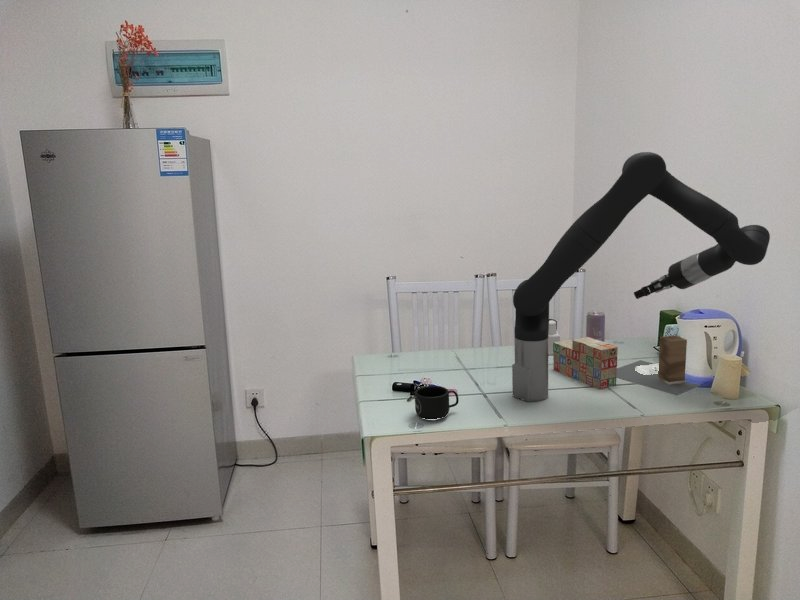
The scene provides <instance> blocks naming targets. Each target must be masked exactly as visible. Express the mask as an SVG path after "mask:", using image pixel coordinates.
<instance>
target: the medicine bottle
mask: <svg viewBox="0 0 800 600" xmlns="http://www.w3.org/2000/svg"><path fill="white" fill-rule="evenodd" d="M559 341H561V335H560V334H559V332H558V320H556V319H553V318H549V331H548V356H554V355H553V354H554V352H553V343H554V342H559Z"/></svg>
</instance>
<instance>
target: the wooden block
mask: <svg viewBox="0 0 800 600" xmlns="http://www.w3.org/2000/svg"><path fill="white" fill-rule="evenodd" d="M687 346H688V339H686V338H683V337H681V336H678V335H666V336H659V349H658V350H659V351H658V352H659V355H658V365H659V371H658V379H659V380H661V381H663V382H664V383H666V384H668V385H671V384H681V383H685V371H686V366H687V365H686V363H687V362H686V361H687Z"/></svg>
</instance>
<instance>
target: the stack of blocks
mask: <svg viewBox="0 0 800 600" xmlns="http://www.w3.org/2000/svg"><path fill="white" fill-rule="evenodd" d="M618 347H619V346H616V345H613V344H611V343H609V342H605V341H604V342H603V341H599V340H596V339H592V338H589V337H586V336H585V337H582V338H575V339H573V340H570V339H565V340H560V341H559V342H554V343H553V352H554V354H553V355H552V356H553V359H552V360H553V370H555V371H556V372H559V373H561V374H563V375H566V376H567V377H570V378H572V379H575V380H577V381H579V382H581V383H583V384H585V385H588V386H591V387H593V388H596V389H597V390H599V391H600V390H605V389H608V387H612V386H616V385H617V378H616V373H617V367H618V350H619V349H618Z"/></svg>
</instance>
